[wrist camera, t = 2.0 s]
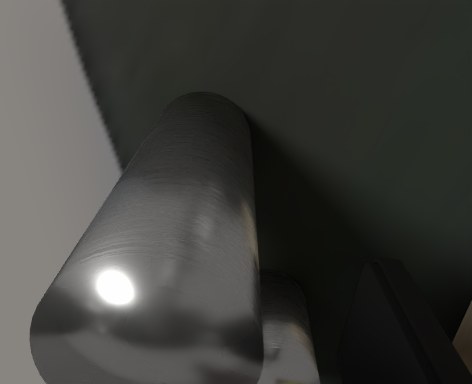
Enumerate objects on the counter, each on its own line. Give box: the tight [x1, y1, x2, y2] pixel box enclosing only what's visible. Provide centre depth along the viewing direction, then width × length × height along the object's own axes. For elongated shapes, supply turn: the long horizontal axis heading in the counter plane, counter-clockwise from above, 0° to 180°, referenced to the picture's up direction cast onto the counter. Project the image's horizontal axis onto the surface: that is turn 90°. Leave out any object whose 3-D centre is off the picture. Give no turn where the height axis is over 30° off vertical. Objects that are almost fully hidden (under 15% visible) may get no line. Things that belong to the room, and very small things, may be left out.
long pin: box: [30, 92, 264, 384], centre depth 13 cm, size 4×4×12 cm
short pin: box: [257, 270, 320, 384], centre depth 20 cm, size 4×4×5 cm
